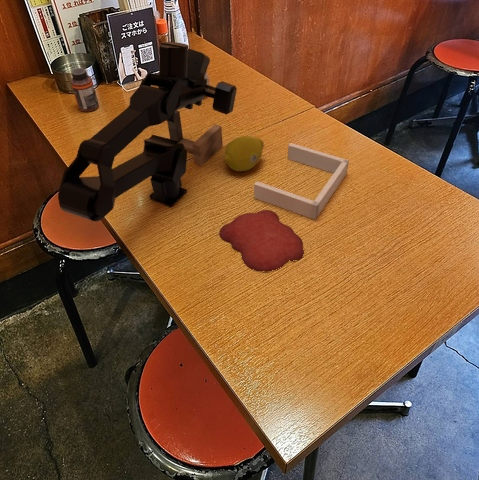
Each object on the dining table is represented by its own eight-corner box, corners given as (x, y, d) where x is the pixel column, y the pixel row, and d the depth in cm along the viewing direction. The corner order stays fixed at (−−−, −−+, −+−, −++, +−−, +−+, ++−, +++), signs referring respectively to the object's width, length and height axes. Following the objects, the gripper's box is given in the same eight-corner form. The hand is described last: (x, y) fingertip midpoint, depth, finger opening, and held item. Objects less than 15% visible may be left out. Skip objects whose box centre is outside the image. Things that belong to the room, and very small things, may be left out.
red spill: (212, 230, 97) (212, 223, 96) (265, 206, 102) (265, 199, 101) (259, 283, 87) (259, 276, 86) (315, 253, 92) (316, 246, 91)
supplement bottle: (77, 105, 135) (65, 68, 127) (97, 100, 137) (87, 64, 129) (81, 114, 131) (69, 77, 123) (101, 109, 133) (91, 72, 125)
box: (315, 219, 98) (317, 206, 95) (254, 197, 104) (254, 184, 101) (346, 174, 109) (348, 160, 106) (289, 156, 115) (290, 142, 112)
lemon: (230, 181, 108) (229, 153, 102) (218, 164, 113) (216, 136, 107) (271, 169, 111) (272, 141, 105) (257, 152, 116) (257, 125, 110)
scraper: (201, 166, 113) (197, 133, 106) (162, 152, 117) (156, 120, 110) (222, 146, 119) (220, 113, 112) (184, 133, 123) (180, 102, 116)
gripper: (225, 68, 90) (255, 59, 103) (146, 42, 95) (184, 37, 107) (215, 121, 96) (245, 107, 109) (142, 95, 101) (178, 84, 113)
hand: (213, 83), depth 109 cm, fingers open, 9 cm apart
